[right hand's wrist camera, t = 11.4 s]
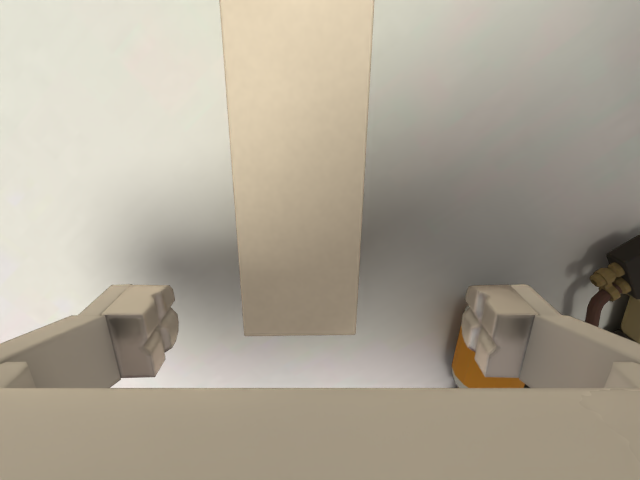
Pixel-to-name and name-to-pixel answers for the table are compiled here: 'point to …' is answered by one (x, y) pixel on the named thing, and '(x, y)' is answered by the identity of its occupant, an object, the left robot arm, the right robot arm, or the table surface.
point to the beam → (298, 158)
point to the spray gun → (620, 277)
